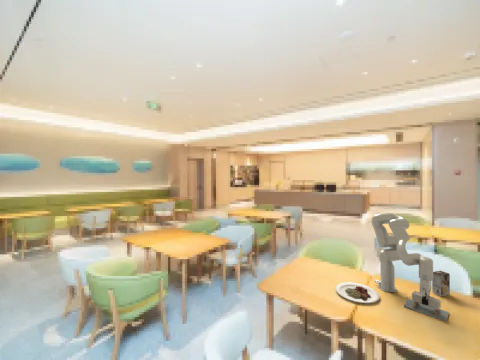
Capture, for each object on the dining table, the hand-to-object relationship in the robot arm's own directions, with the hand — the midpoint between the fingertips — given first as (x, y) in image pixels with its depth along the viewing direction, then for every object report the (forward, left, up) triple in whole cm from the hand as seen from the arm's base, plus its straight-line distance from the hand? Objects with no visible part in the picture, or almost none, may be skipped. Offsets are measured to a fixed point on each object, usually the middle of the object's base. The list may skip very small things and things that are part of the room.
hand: (425, 302), depth 152 cm
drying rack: (0, 0, -5) cm, 5 cm away
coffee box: (+4, +34, -5) cm, 35 cm away
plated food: (-40, -11, -6) cm, 42 cm away
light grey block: (0, 0, -1) cm, 1 cm away
